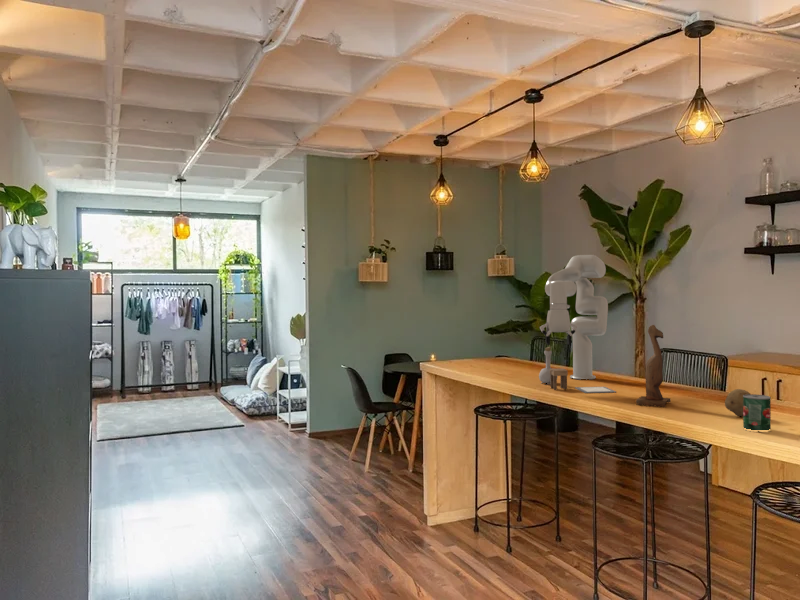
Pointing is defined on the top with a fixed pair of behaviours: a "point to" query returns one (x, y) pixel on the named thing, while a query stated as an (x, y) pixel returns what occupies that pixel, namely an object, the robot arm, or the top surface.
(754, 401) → the canned tomato
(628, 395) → the top surface
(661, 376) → the bird sculpture
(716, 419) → the top surface
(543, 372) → the potion bottle
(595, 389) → the mat
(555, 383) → the stool
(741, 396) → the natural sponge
